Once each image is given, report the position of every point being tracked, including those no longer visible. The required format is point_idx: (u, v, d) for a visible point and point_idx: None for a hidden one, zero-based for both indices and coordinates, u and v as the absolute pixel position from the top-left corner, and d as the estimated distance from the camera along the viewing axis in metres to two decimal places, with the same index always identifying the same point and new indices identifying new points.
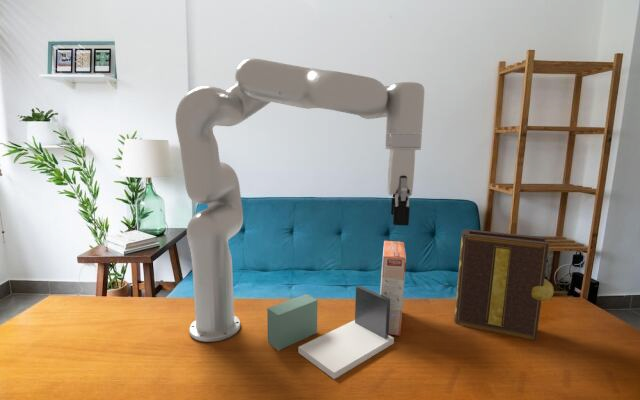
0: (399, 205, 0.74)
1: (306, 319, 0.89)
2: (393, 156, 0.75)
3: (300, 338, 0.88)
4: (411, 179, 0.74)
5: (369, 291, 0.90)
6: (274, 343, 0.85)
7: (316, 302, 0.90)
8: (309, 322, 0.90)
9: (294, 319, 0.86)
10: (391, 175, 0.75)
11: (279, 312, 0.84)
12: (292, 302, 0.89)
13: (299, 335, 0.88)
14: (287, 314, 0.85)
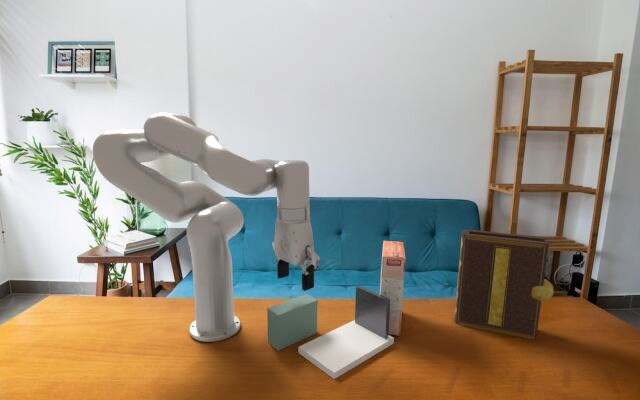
0: (309, 273, 0.81)
1: (306, 319, 0.89)
2: (297, 230, 0.80)
3: (300, 338, 0.88)
4: (313, 247, 0.83)
5: (369, 291, 0.90)
6: (274, 343, 0.85)
7: (316, 302, 0.90)
8: (309, 322, 0.90)
9: (294, 319, 0.86)
10: (298, 247, 0.80)
11: (279, 312, 0.84)
12: (292, 302, 0.89)
13: (299, 335, 0.88)
14: (287, 315, 0.85)
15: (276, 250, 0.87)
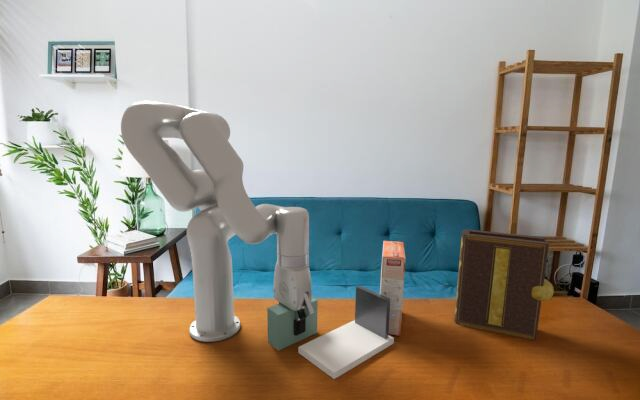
0: None
1: (306, 319, 0.89)
2: (296, 277, 0.82)
3: (300, 338, 0.88)
4: (311, 292, 0.85)
5: (369, 291, 0.90)
6: (274, 343, 0.85)
7: (316, 302, 0.90)
8: (309, 321, 0.90)
9: (294, 319, 0.86)
10: (297, 294, 0.82)
11: (279, 311, 0.84)
12: None
13: (299, 334, 0.88)
14: (287, 314, 0.85)
15: (275, 293, 0.89)
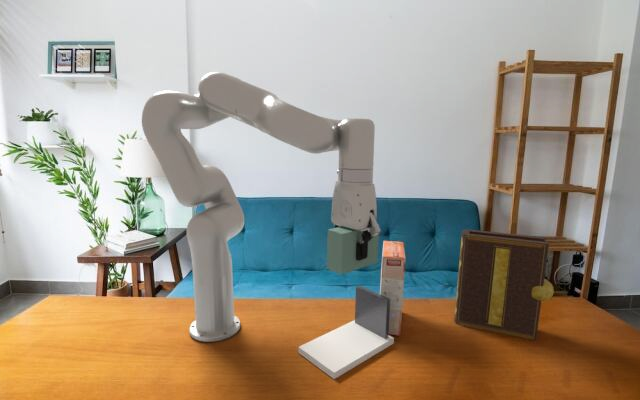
0: (364, 242, 0.78)
1: (368, 245, 0.82)
2: (363, 192, 0.75)
3: (361, 264, 0.81)
4: (376, 212, 0.78)
5: (369, 291, 0.90)
6: (336, 267, 0.78)
7: None
8: (370, 248, 0.82)
9: (356, 242, 0.79)
10: (362, 211, 0.75)
11: (342, 232, 0.77)
12: None
13: (361, 261, 0.81)
14: (350, 235, 0.77)
15: (334, 216, 0.81)
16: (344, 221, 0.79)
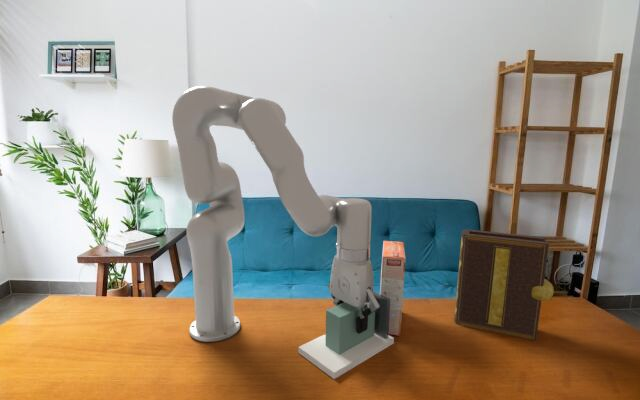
0: (365, 317, 0.81)
1: None
2: (360, 272, 0.78)
3: (358, 341, 0.85)
4: None
5: None
6: (334, 347, 0.81)
7: None
8: None
9: (354, 322, 0.82)
10: (360, 289, 0.78)
11: (340, 314, 0.80)
12: (349, 304, 0.85)
13: (358, 338, 0.84)
14: (348, 317, 0.81)
15: (332, 288, 0.85)
16: (342, 296, 0.82)
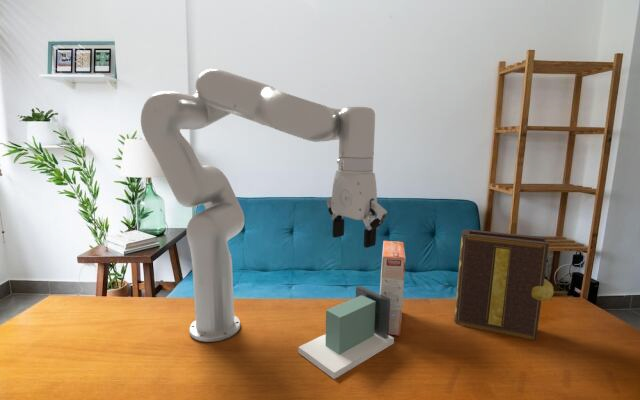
0: (373, 228, 0.76)
1: (365, 322, 0.85)
2: (363, 181, 0.74)
3: (358, 341, 0.85)
4: (376, 201, 0.77)
5: (369, 291, 0.90)
6: (334, 347, 0.81)
7: (374, 303, 0.87)
8: (367, 324, 0.86)
9: (354, 322, 0.82)
10: (363, 200, 0.75)
11: (340, 314, 0.80)
12: (349, 304, 0.85)
13: (358, 338, 0.84)
14: (348, 317, 0.81)
15: (334, 205, 0.81)
16: (344, 210, 0.79)
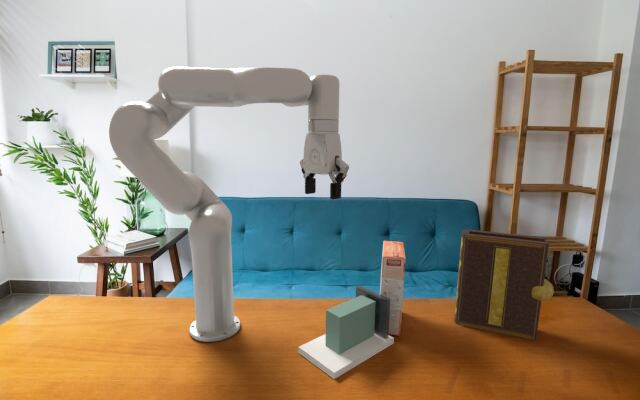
0: (338, 181, 0.86)
1: (365, 322, 0.85)
2: (328, 139, 0.85)
3: (358, 341, 0.85)
4: (341, 158, 0.88)
5: (369, 291, 0.90)
6: (334, 347, 0.81)
7: (374, 303, 0.87)
8: (367, 324, 0.86)
9: (354, 322, 0.82)
10: (328, 156, 0.85)
11: (340, 314, 0.80)
12: (349, 304, 0.85)
13: (358, 338, 0.84)
14: (348, 317, 0.81)
15: (305, 164, 0.92)
16: (313, 167, 0.89)
